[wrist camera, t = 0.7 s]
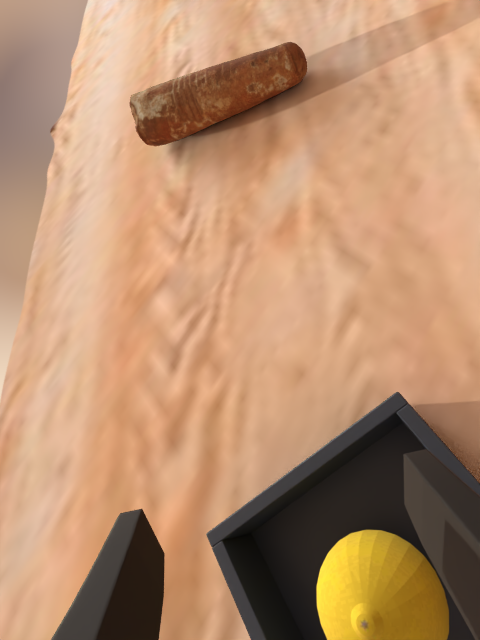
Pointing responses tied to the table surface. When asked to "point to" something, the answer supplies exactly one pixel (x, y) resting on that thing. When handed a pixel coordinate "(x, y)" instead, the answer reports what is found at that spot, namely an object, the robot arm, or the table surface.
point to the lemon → (380, 591)
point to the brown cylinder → (215, 93)
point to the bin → (326, 521)
